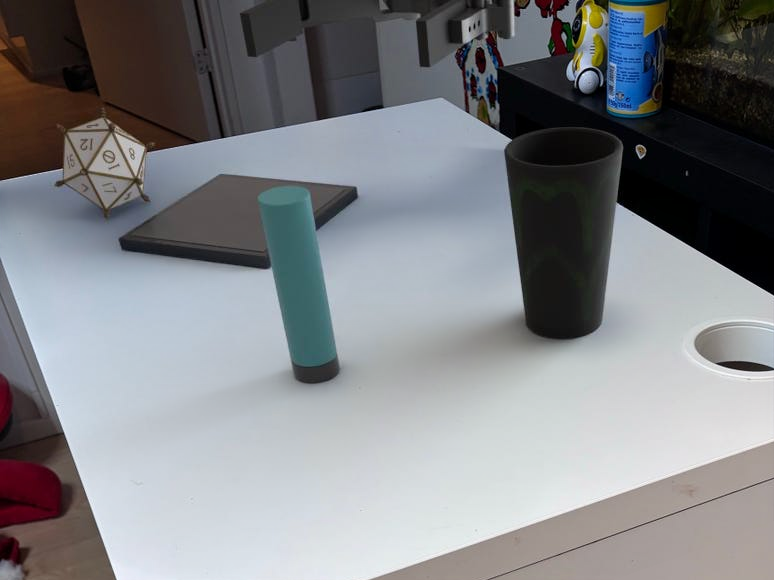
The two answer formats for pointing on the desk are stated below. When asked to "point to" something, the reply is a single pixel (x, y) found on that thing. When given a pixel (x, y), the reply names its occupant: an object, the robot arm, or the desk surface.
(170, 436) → the desk surface
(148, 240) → the plate
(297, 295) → the teal cylinder
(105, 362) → the desk surface
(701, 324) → the desk surface
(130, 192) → the game die
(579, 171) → the cup
